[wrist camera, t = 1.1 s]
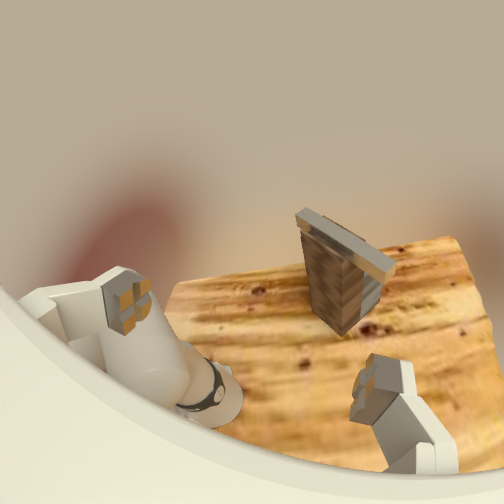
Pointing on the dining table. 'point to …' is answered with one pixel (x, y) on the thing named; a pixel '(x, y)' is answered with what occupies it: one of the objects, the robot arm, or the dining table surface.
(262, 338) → the dining table surface
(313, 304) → the stand
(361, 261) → the steel bar
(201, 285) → the dining table surface
